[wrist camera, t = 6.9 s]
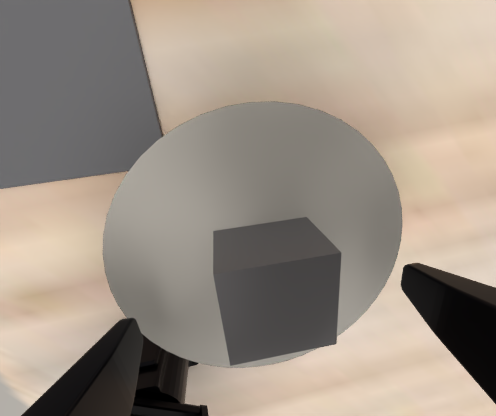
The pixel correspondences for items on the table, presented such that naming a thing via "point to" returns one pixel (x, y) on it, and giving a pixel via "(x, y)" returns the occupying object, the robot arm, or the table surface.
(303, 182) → the lid
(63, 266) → the table surface
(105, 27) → the charcoal mat
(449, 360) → the table surface
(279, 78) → the table surface
